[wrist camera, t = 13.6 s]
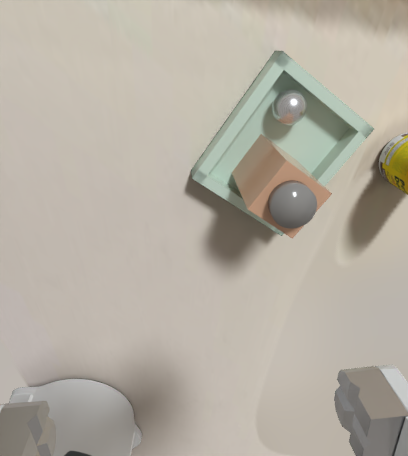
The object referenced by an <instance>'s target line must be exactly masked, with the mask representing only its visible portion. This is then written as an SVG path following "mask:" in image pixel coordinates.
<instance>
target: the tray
mask: <svg viewBox="0 0 408 456" xmlns="http://www.w3.org/2000/svg"><path fill="white" fill-rule="evenodd" d="M288 89H293V90H297V91H299V92H301V93H302V94H303V95H304V97H305V98H306V101H307V111H306V114H305V116H304V117H303V119H302V120H301V121H299V122H298V123H296V124H294V125H283V124H281V123H279V122H278V121H277V120H276V119H275V118H274V116H273V113H272V104H273V101H274V99H275V98H276V96H277V95H278V94H279V93H281V92H282V91H284V90H288ZM373 130H374V128H373V127H372V126H370V125H369V124H368V123H367V122H366V121H364V120H363V119H362V118H361V117H360V116H359V115H357V114H356V113H355V112H354V111H353V110H352V109H350V108H349V107H348V106H347V105H346V104H344V103H343V102H342V101H341V100H340V99H339V98H337V97H336V96H335V95H334V94H333V93H331V92H330V91H329V90H328V89H327V88H326V87H324V86H323V85H322V84H321V83H320V82H318V81H317V80H316V79H315V78H314V77H313V76H311V75H310V74H309V73H308V72H307V71H306V70H304V69H303V68H302V67H301V66H300V65H298V64H297V63H296V62H295V61H294V60H293V59H291V58H290V57H289V56H288V55H287V54H285V53H284V52H283V51H275V52H274V53H273V54H272V56H271V57H270V59H269V60H268V62H267V63H266V64H265V66H264V67H263V69H262V70H261V72H260V73H259V74H258V76H257V77H256V79H255V80H254V81H253V83H252V84H251V86H250V87H249V89H248V90H247V91H246V93H245V94H244V96H243V97H242V99H241V100H240V101H239V103H238V104H237V106H236V107H235V108H234V110H233V111H232V113H231V114H230V116H229V117H228V118H227V120H226V121H225V123H224V124H223V126H222V127H221V128H220V130H219V131H218V133H217V134H216V136H215V137H214V138H213V140H212V141H211V143H210V144H209V145H208V147H207V148H206V150H205V151H204V153H203V154H202V155H201V157H200V158H199V160H198V161H197V163H196V164H195V165H194V167H193V168H192V170H191V174H192V179H194V180H195V181H197V182H198V183H200V184H201V185H203V186H205V187H206V188H208V189H209V190H211V191H212V192H214V193H215V194H217V195H219V196H220V197H222V198H223V199H225V200H226V201H228V202H229V203H231V204H233V205H234V206H236V207H237V208H239V209H240V210H242V211H243V212H245V213H246V214H248V215H250V216H251V217H253V218H254V219H256V220H257V221H259V222H260V223H262V224H264V225H265V226H267V227H268V228H270V229H271V230H273V231H274V232H276V233H278V234H279V235H281V236H282V235H283V234H284V233H283V232H282V231H280V230H279V229H277V228H275V227H274V226H272V225H271V224H269V223H268V222H266V221H265V220H263V219H262V218H260V217H259V216H257V215H256V214H254V213H253V212H251V211H250V210H248V209H247V207H246V204H245V202H244V200H243V198H242V195H241V193H240V191H239V188H238V186H237V184H236V182H235V179H234V177H233V175H232V171H233V170H234V169H235V168H236V166H237V165H238V164H239V162H240V161H241V160H242V158H243V157H244V156H245V154H246V153H247V152H248V150H249V149H250V148H251V146H252V145H253V144H254V142H255V141H256V140H257V138H258V137H259V136H260V134H262V135H264V136H265V137H266V138H268V139H269V140H270V141H272V142H273V143H274V144H276V145H277V146H278V147H280V148H281V149H282V150H284V151H285V152H286V153H288V154H289V155H290V156H292V157H293V158H294V159H296V160H297V161H298V162H299V163H300V164H301V165H302V166H303V167H304V168H305V169H307V170H308V171H309V172H310V173H311V174H312V175H313V176H314V177H315V178H316V179H317V180H318V181H319V182H320V183H321V184H322V185H323V186H325V185H326V184H327V183H328V182H329V181H330V179H331V178H332V177H333V176H334V175H335V174H336V173H337V171H338V170H339V169H340V168H341V167H342V166H343V164H344V163H345V162H346V161H347V160H348V159H349V158H350V156H351V155H352V154H353V153H354V152H355V151H356V149H357V148H358V147H359V146H360V145H361V144H362V142H363V141H364V140H365V139H366V138H367V137H368V136H369V134H370V133H371V132H372V131H373Z"/></svg>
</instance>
